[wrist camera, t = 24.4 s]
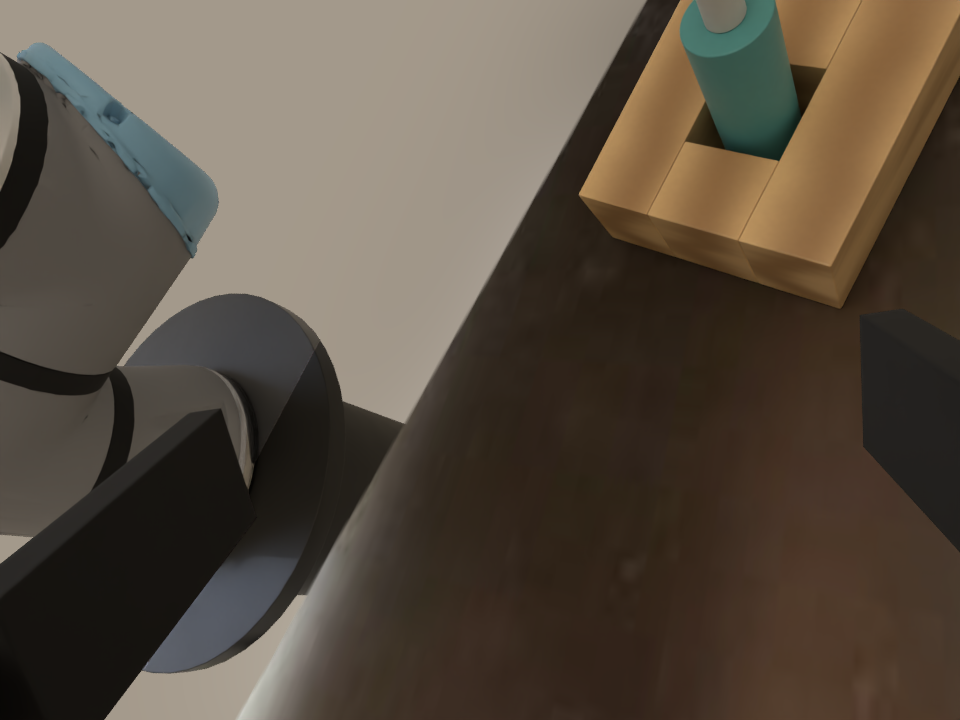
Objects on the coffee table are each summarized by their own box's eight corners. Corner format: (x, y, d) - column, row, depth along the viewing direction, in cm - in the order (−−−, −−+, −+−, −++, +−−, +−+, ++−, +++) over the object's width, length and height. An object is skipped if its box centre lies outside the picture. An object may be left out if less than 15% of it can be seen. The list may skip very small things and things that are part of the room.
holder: (612, 237, 40) (578, 195, 36) (713, 42, 40) (691, -22, 36) (840, 309, 33) (830, 267, 29) (962, 71, 33) (969, -5, 29)
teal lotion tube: (745, 204, 37) (668, 19, 25) (727, 149, 38) (647, -50, 27) (819, 176, 35) (773, -34, 24) (798, 119, 36) (745, -105, 25)
